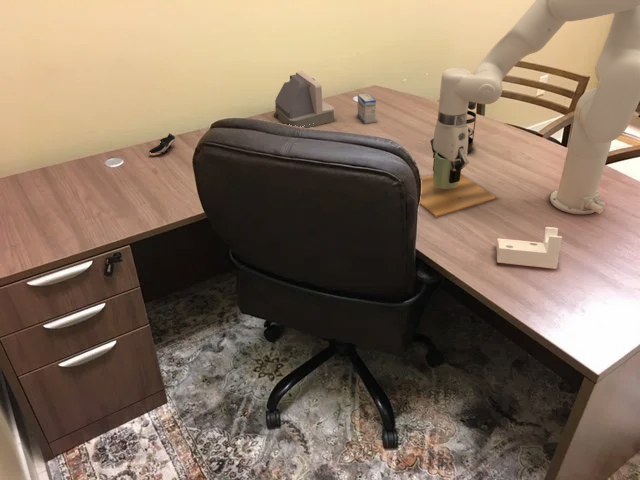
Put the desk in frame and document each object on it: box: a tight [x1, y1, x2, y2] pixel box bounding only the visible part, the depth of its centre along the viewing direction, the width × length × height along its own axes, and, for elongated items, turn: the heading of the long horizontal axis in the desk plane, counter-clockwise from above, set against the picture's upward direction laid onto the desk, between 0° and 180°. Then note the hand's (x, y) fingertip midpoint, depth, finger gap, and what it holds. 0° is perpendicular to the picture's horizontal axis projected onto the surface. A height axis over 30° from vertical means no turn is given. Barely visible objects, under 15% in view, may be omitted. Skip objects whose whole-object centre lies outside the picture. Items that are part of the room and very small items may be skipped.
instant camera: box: [274, 71, 335, 129], centre depth 203 cm, size 21×21×15 cm
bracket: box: [495, 226, 563, 270], centre depth 125 cm, size 13×7×8 cm, turn 76°
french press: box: [466, 101, 478, 155], centre depth 172 cm, size 12×9×23 cm
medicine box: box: [357, 93, 377, 124], centre depth 200 cm, size 8×4×9 cm, turn 17°
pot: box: [432, 152, 458, 189], centre depth 151 cm, size 7×7×9 cm
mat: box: [419, 173, 497, 218], centre depth 155 cm, size 20×20×1 cm
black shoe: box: [148, 132, 177, 157], centre depth 187 cm, size 11×4×7 cm
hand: (446, 175), depth 152 cm, fingers closed on pot, 7 cm apart
